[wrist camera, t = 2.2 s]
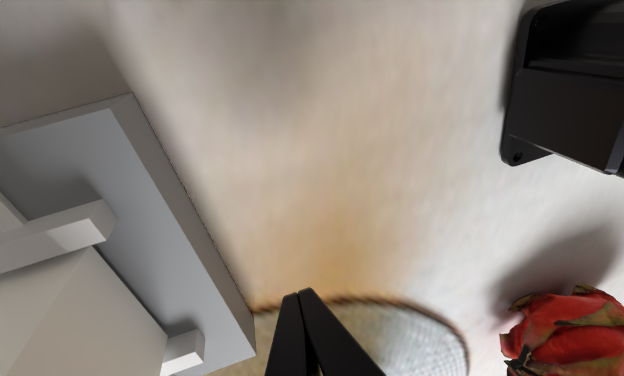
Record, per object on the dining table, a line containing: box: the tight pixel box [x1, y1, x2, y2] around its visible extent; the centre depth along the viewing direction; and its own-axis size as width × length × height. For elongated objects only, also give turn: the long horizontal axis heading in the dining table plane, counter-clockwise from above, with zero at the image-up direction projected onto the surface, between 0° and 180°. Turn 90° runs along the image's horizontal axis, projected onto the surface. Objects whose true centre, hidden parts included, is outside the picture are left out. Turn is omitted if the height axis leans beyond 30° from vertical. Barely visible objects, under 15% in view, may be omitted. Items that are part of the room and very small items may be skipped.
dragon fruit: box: [499, 283, 624, 376], centre depth 19 cm, size 8×8×12 cm
